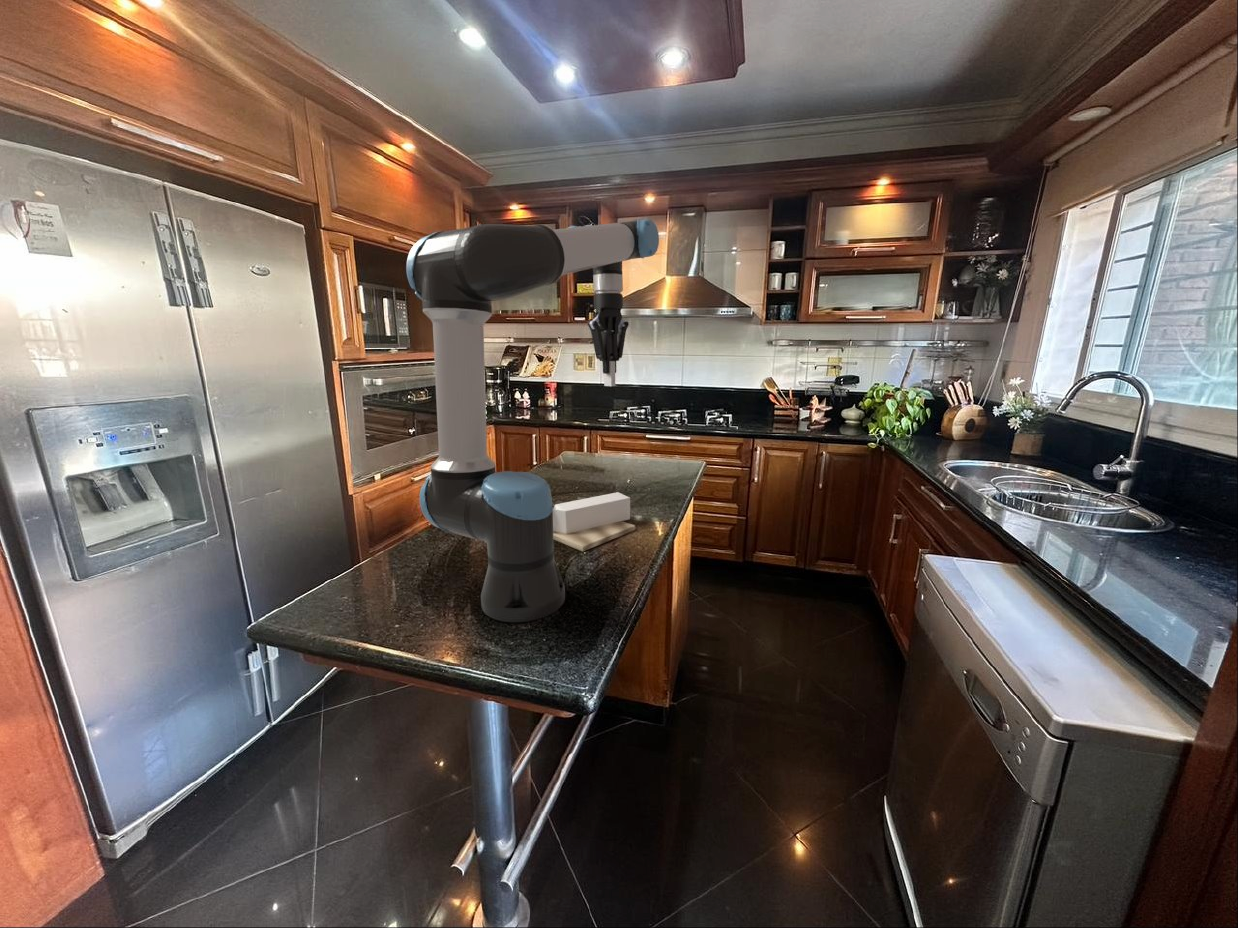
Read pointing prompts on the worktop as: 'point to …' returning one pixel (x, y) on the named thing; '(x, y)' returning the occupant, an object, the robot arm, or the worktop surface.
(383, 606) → the worktop surface
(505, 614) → the robot arm
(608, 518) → the white carton-shaped block
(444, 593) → the worktop surface
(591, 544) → the board
